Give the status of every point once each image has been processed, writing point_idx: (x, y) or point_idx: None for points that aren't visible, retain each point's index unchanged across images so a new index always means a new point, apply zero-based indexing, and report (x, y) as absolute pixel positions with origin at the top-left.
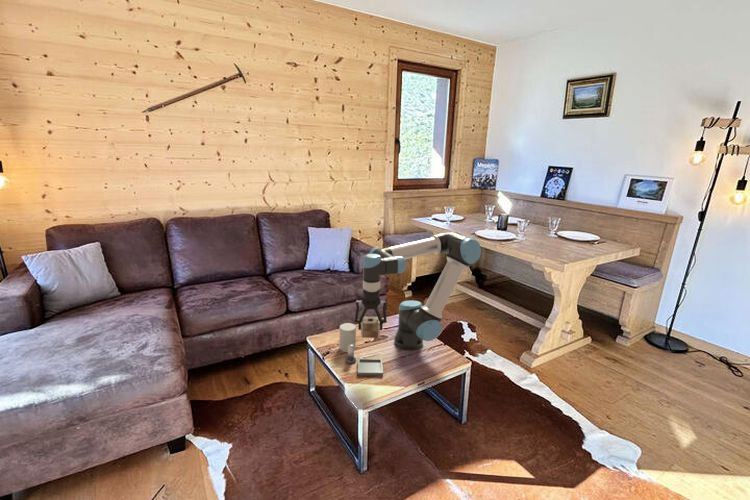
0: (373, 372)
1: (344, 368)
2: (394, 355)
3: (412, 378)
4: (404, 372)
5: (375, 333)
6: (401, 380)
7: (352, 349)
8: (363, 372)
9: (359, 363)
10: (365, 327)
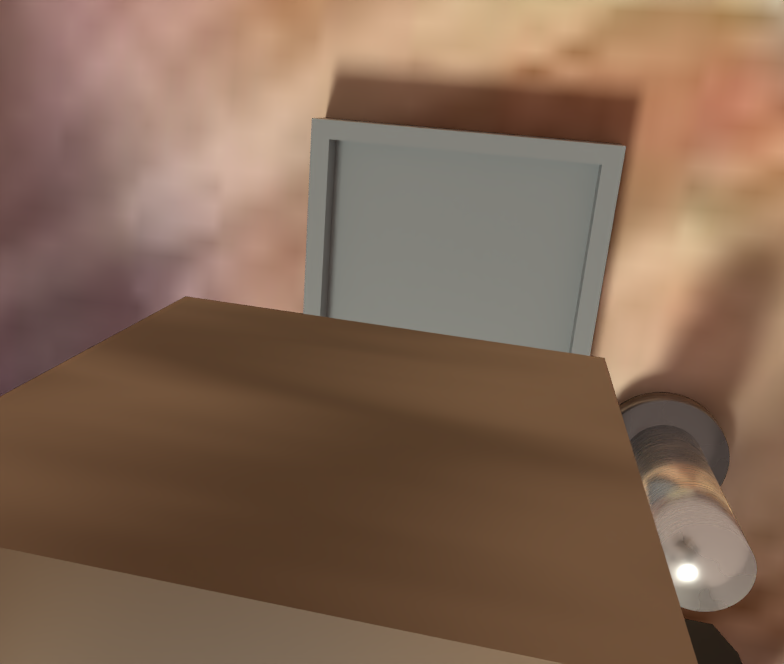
0: (425, 132)
1: (761, 313)
2: None
3: (19, 54)
4: (94, 172)
5: (198, 346)
6: (132, 22)
7: (675, 504)
8: (551, 141)
9: (574, 339)
10: (518, 507)
